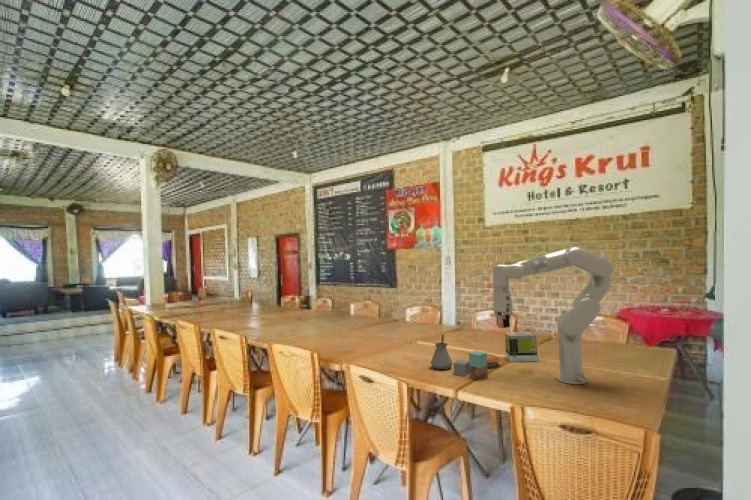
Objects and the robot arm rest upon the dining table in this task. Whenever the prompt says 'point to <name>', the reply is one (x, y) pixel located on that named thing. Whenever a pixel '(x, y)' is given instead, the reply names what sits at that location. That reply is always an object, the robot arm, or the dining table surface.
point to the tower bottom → (479, 372)
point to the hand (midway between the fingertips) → (503, 325)
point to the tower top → (478, 359)
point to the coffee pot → (441, 356)
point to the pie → (492, 360)
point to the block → (461, 367)
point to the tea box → (521, 346)
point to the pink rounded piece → (500, 320)
